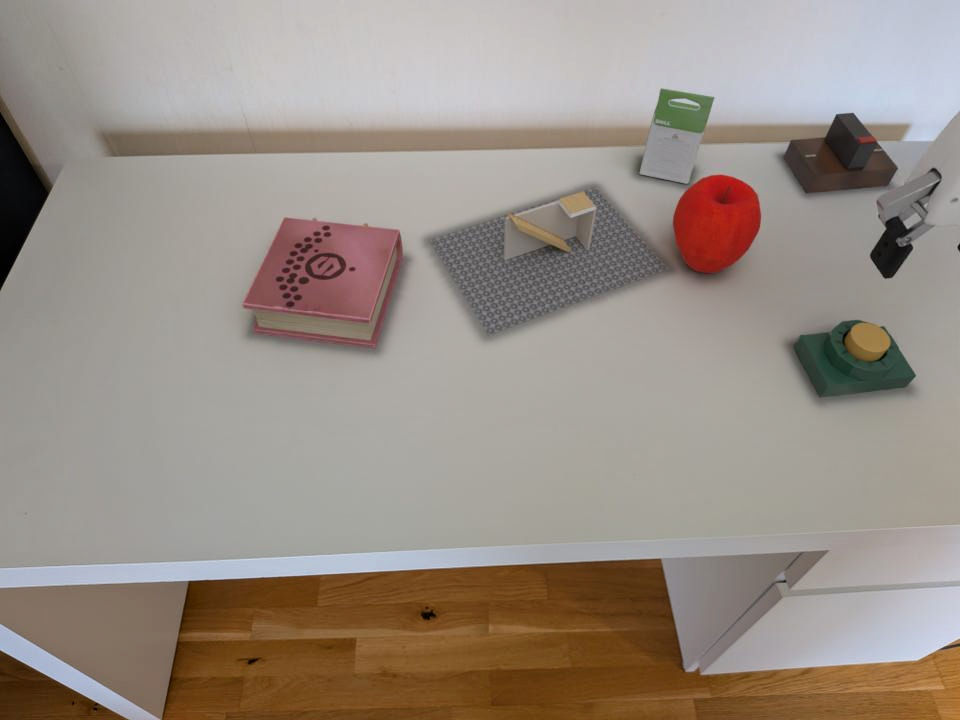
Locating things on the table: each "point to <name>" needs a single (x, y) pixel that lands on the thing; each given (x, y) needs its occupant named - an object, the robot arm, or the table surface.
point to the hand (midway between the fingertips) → (924, 262)
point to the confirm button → (867, 342)
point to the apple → (716, 222)
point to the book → (326, 282)
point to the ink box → (675, 135)
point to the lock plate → (835, 167)
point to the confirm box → (850, 364)
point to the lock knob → (850, 141)
